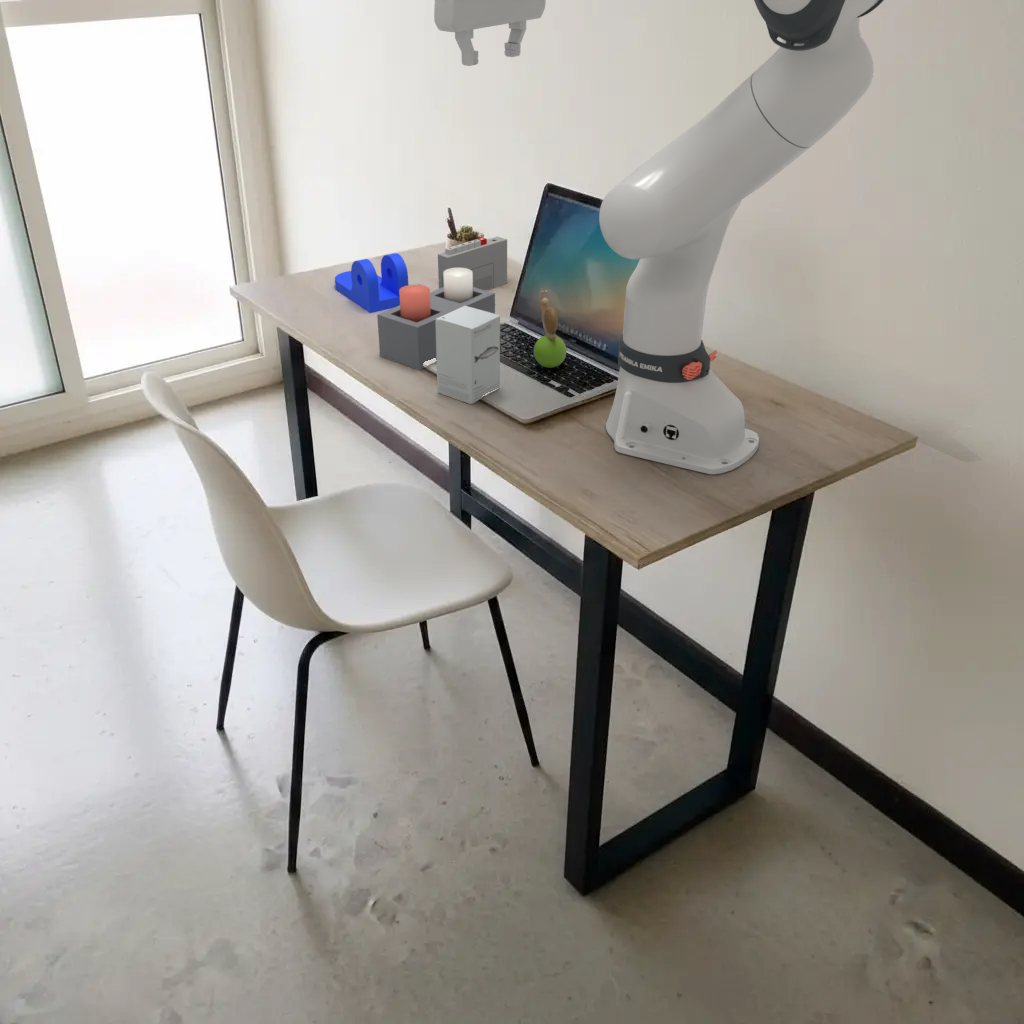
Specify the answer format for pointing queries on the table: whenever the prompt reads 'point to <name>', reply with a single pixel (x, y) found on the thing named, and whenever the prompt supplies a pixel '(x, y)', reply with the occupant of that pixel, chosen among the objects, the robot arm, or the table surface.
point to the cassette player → (478, 261)
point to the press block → (422, 328)
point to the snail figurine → (549, 339)
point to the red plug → (415, 302)
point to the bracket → (374, 283)
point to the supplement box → (468, 353)
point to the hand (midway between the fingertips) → (491, 60)
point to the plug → (458, 284)
